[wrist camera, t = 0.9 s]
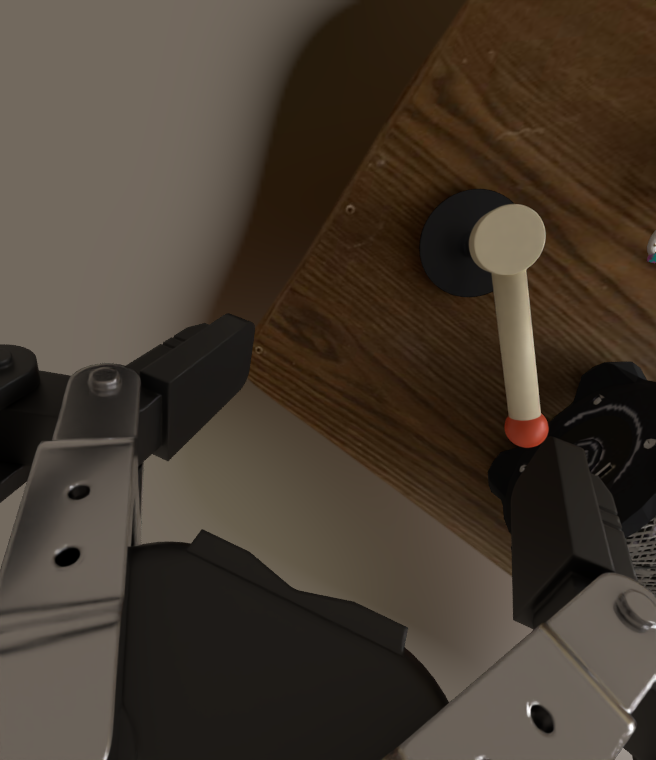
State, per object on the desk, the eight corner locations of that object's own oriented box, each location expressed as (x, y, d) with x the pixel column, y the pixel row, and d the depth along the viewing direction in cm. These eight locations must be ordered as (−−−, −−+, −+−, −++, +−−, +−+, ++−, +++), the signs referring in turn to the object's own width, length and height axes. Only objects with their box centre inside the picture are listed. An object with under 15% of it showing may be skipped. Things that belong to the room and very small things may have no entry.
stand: (420, 194, 34) (423, 163, 22) (528, 186, 32) (594, 149, 21) (418, 297, 36) (420, 319, 24) (519, 294, 35) (575, 316, 23)
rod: (464, 216, 22) (469, 213, 20) (530, 201, 21) (543, 195, 19) (494, 441, 25) (501, 457, 23) (553, 434, 24) (566, 451, 22)
